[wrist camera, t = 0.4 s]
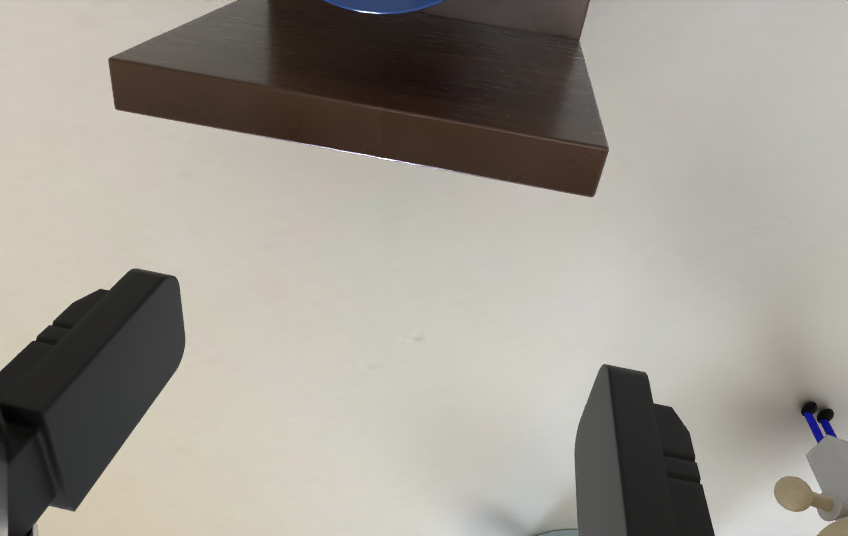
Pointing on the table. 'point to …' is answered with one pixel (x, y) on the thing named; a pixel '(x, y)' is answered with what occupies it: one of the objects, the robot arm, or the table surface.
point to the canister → (384, 5)
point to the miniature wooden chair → (387, 84)
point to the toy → (821, 476)
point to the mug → (561, 533)
